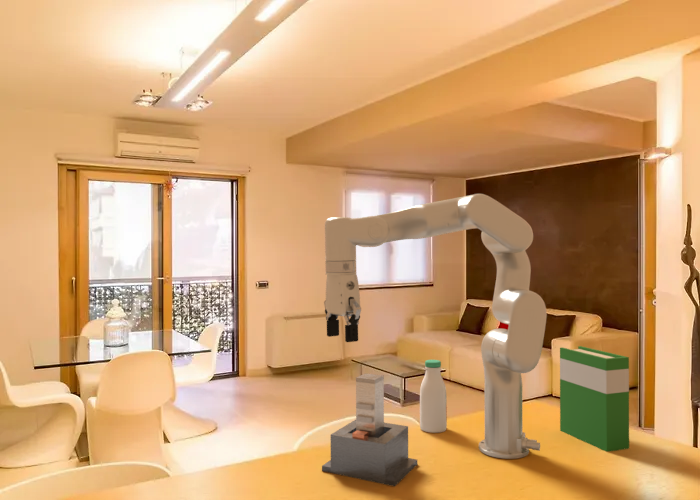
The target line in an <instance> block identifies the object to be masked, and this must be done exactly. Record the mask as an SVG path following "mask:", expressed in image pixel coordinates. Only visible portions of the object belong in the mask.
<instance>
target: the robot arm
mask: <svg viewBox="0 0 700 500" xmlns="http://www.w3.org/2000/svg"><path fill="white" fill-rule="evenodd" d="M472 229H473V230H474V229H478V230H480V231H481V234H480V237H481V241H482V243H483V246H485V248H486V249H487V250H488V251H489V252H490V253H491V254H492V256H493V258H494V260H495V264H496V278H495V279H496V280H495V285H494V291H493V297H492V305H491V311H492V315H493V317H494V318H495V319H496V320H497V321H498V322H499V323H502V324H505V325H508V327H507V329H506V328H494V329H491V330H490V331H488V332H487V333H486V334H485V335H484V337H483V338H482V341H481V346H480V350H481V351H480V352H481V359H482V365H483V375H484V439H482V440H481V441H479V442H478V449H479V451H480V452H481V453H483V454H484V455H487V456H489V457H493V458H497V459H507V460H509V459H510V460H514V459H521V458H524V457H527V456H528V455H529V453H530V450H532V451H540V450H541V442H537V440H536V439H532V438H531V439H530V438H528V437H526V432H523V378H522V377H523V376H522V374H528V373H529V372H531V371H533V370H534V369H535V368H536V367H537V366H538V364H539V362H540V359H541V355H542V351H543V345H544V339H545V338H544V337H545V331H546V324H547V317H548V314H547V307H546V303H545V301H544V300H543V298H542V297H541V295H539V294H538V293H537V292H534V291H532V290H530V284H531V283H530V282H531V272H532V270H531V269H532V267H531V262H530V258H529V256H528V254H527V251H526V250H527V249H528V248H529V247H530V246H531V245H532V243H533V240H534V233H533V232H534V231H533V229H532V226H531V225H530V224H529V223H528V222H527V220H525V219H524V218H523V217H521V216H520V215H518V214H517V213H515V212H514V211H512V210H511V209H510V208H508V207H507V206H506V205H504V204H502V203H501V202H500V201H497V199H494V198H493V197H491V196H489V195H487V194H484V193H474V194H470V195H464V196H461V197H454V198H449V199H443V200H439V201H432V202H428V203H422V204H418V205H414V206H413V205H412V206H411V207H408V208H405V209H400V210H397V211H393V212H387V213H384V214H377V215H370V216H363V217H354V218H353V217H347V216H345V217H344V216H341V217H339V216H338V217H337V216H336V217H328V218H327V219H326V220H325V221H324V254H325V255H324V256H325V257H324V259H325V262H324V263H325V264H324V265H325V275H326V280H325V282H326V283H325V300H324V301H323V306H324V313H325V321H326V336H327V337H338V336H340V320H339V319H338V318H339V316H340V317H343V318H344V320H345V323H346V324H345V325H344V333H345V334H344V338H345V339H344V341H345V343H354V342H358V341H359V324H360V318H361V313H362V312H361V311H362V307H361V297H360V285H359V279H358V274H357V246H359V247H362V248H377V247H380V246H382V245H383V244H385V243H386V244H387V243H391V242H396V241H397V242H398V241H404V240H419V239H420V240H421V239H427V238H432V237H436V236H441V235H446V234H451V233H457V232H461V231H467V230H472Z"/></svg>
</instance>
